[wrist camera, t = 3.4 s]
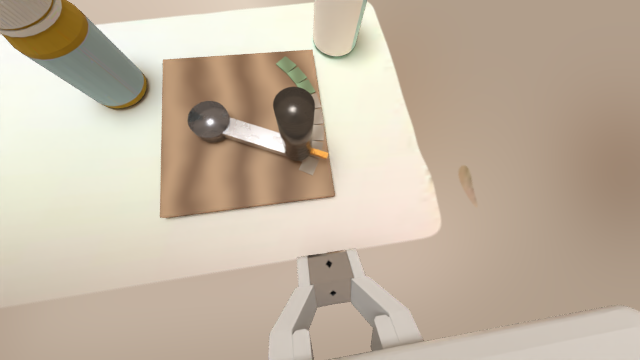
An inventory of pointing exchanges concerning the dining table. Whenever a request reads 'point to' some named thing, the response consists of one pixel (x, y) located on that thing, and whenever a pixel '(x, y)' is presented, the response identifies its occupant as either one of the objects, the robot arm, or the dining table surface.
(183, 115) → the tuner board
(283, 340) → the robot arm
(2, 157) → the dining table surface
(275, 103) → the peg lever
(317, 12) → the can
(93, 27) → the bottle
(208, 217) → the dining table surface
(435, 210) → the dining table surface
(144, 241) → the dining table surface
